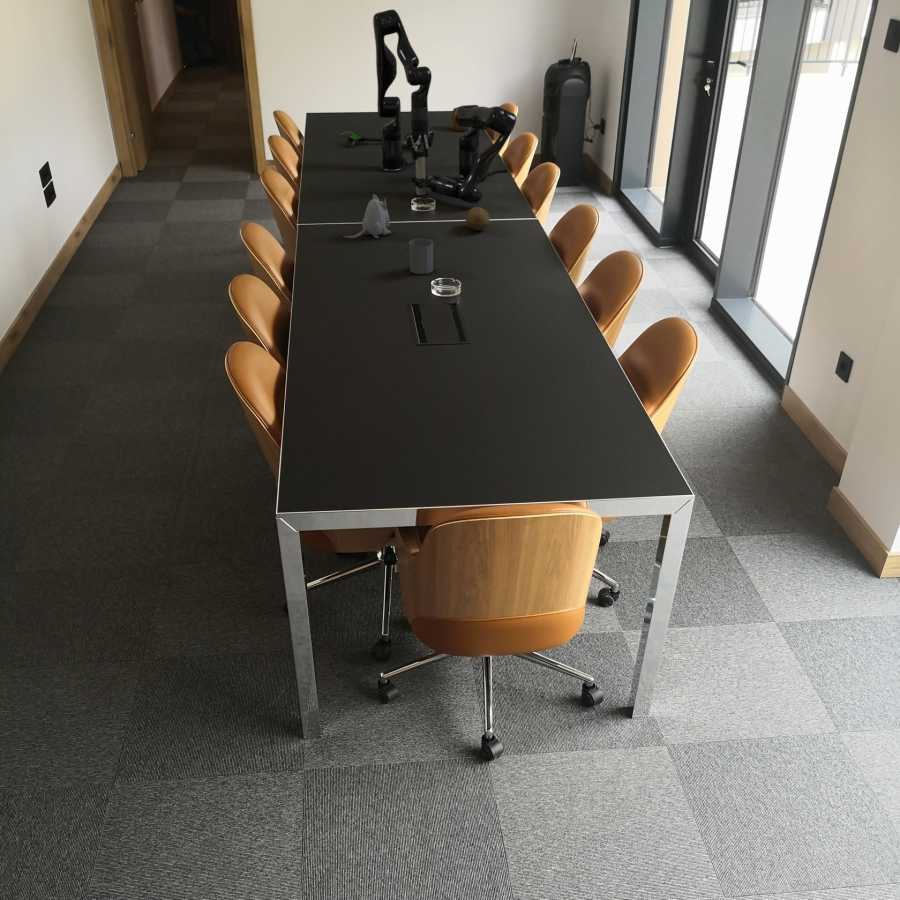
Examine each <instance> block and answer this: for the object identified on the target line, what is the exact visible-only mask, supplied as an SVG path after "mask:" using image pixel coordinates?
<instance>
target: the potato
mask: <svg viewBox="0 0 900 900" xmlns="http://www.w3.org/2000/svg"><path fill="white" fill-rule="evenodd" d="M490 220H491V219H490V214H489V212H488V211H487V210H485V209H484V208H483V207H480V206H474V207H472V208H470V209H469V210H468V211H467V213H466V215H465V224H466V225H467V227H468V228H469V229H471V230H474V231H482V230H484V229H485V228H487V227H488V225H489V222H490Z"/></svg>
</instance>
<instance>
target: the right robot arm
mask: <svg viewBox="0 0 900 900" xmlns="http://www.w3.org/2000/svg"><path fill="white" fill-rule="evenodd" d="M457 107H458V108H457ZM457 107H456V108H457V110H456V113H455V119H456V122H457V124H458V125H459V126H460V127H468V128H469V129H468V130H467V131H466V132H464V133H462V134H460V135H459V137H458V180H455V179H452V178H449V177H446V176H442V175H439V174H436V175H434V174H430V175H425V178H422V179H420V178H416V176H412V177H411V182H412V183H414V186H415V187H416V186H417V187H419V188H422V186H423V187H426V188H427V189H430V191H431V192H432V193H433V194H437V195H441V196H444V197H449V198H453V199H459V200H460V201H462V202H467V203H470V204H477V203H479V202H480V201H481V200H482V198H483V194H482V190H481V189H480V188H479V187H478V184H481V183H484V182H486V179H487V178H488V176H492V175H493V174H496V173H505V172H508V168H506V169H496V170H492V171H491V168H492V166H493V164H494V162H495V161H496V159H497V157H498V155H499V154H500V153H501V151H502V149H503V148H504V147H505V144H506V143H507V141H508V140H509V138H510V136H511V135H512V132H513V130H514V128H515V127H516V123H517V116H516V114H515V113H513V112H512V111H510V110H507V109H506V108H503V107H501V106H491V107H488V106H480V105H478V104H467V105H459V106H457ZM486 130H491V131H494V132H496V133H498V134H499V135H498V137H497V138H496V140H495V141H494V142H493V144H491V145H490V146H488V148H486V149H485V150H483V151H482V152H481V153H480V137H481V131H486ZM490 171H491V172H490ZM420 180H421V181H420Z"/></svg>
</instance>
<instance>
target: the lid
mask: <svg viewBox="0 0 900 900" xmlns="http://www.w3.org/2000/svg"><path fill="white" fill-rule="evenodd" d="M424 156H426V150H423V148H422V149H417V157H424Z"/></svg>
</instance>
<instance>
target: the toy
mask: <svg viewBox="0 0 900 900" xmlns="http://www.w3.org/2000/svg"><path fill="white" fill-rule="evenodd" d="M383 200H384V201H383ZM383 200H380V199H379V197H378V196H377V195H376V193H373V194H372V199H370V200H369V202H368V203H367V206H366V207H365V208H366V209H365V213H364V215H363V219H362V223H361V225H362V230H361V231H359V232H358V233H356V234H354V235H348V236H347V235H343V238H348V239H356V238H358V237H360V236H363V235H365V236H368V235H372V236H373V238H374V239H380V237H379V236H380V235H382V236H386V235H391V234H392V231H391V230H389V227H390V225H391V222H390V221H391V220H390V216H389V211H388V207H387V200H386V198H384V199H383Z"/></svg>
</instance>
